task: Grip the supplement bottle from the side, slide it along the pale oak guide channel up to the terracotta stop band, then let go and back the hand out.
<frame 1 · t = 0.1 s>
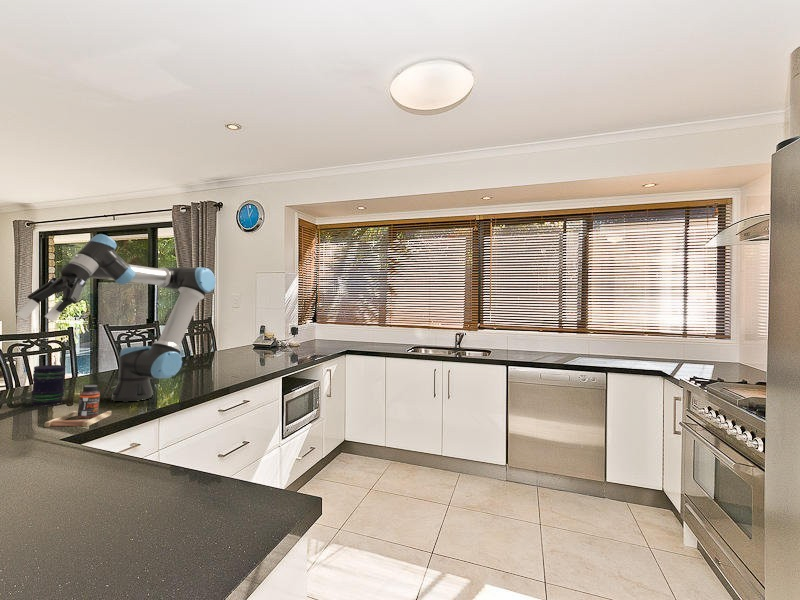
hand: (34, 318, 128), 36 cm above the countertop, tool tilted 35°, fingers open, 13 cm apart
supplement bottle: (87, 417, 145), on the countertop
guide channel: (79, 420, 140), on the countertop
storage jar: (46, 404, 161), on the countertop
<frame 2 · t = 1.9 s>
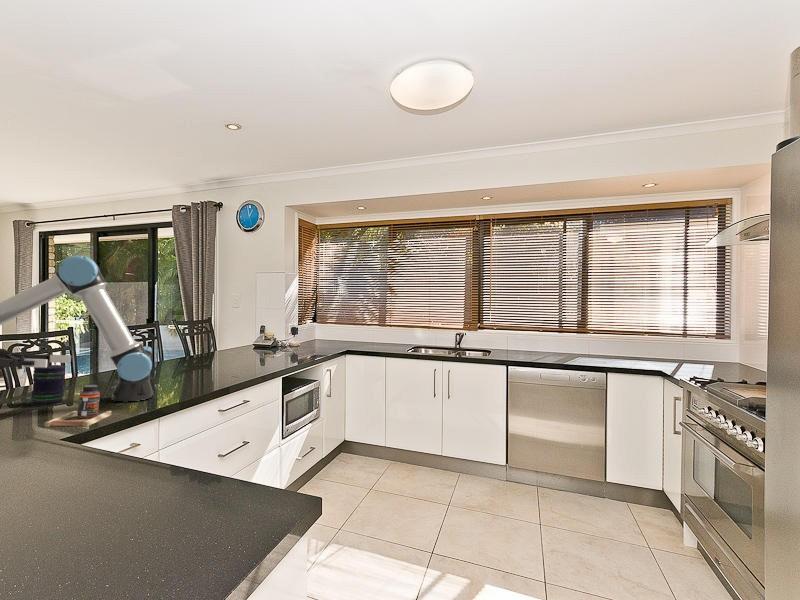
hand: (59, 361, 144), 20 cm above the countertop, tool horizontal, fingers open, 13 cm apart
nothing on the countertop moved.
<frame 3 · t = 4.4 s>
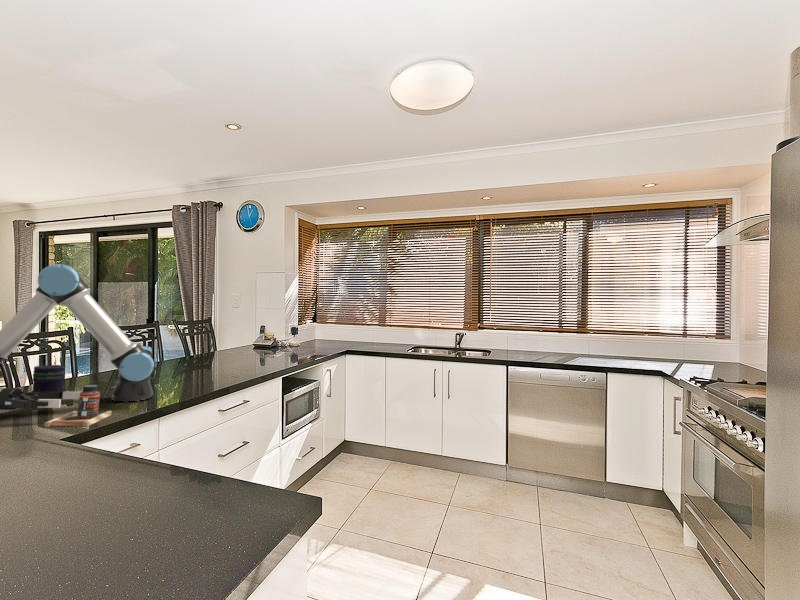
hand: (72, 399, 144), 6 cm above the countertop, tool horizontal, fingers open, 13 cm apart
nothing on the countertop moved.
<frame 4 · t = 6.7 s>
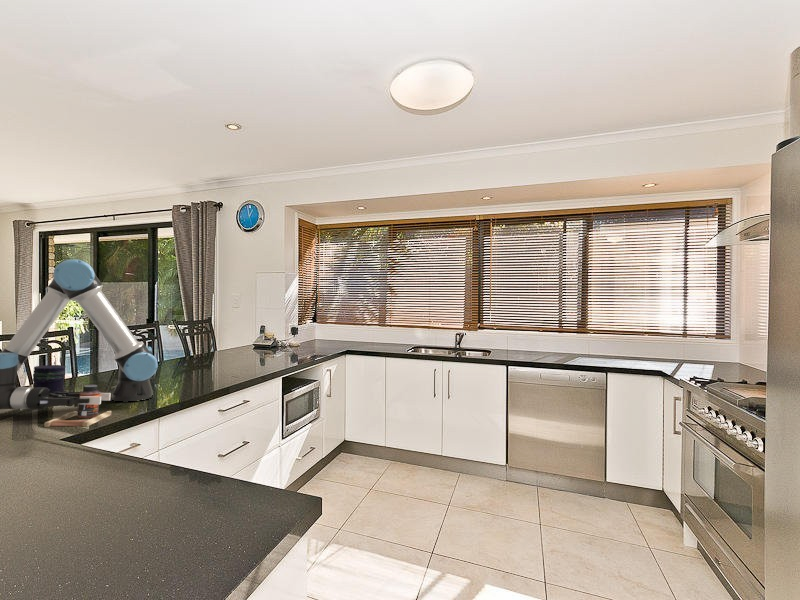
hand: (105, 398, 146), 7 cm above the countertop, tool horizontal, fingers closed on supplement bottle, 6 cm apart
supplement bottle: (87, 417, 145), on the countertop, touching gripper
everything else where it was.
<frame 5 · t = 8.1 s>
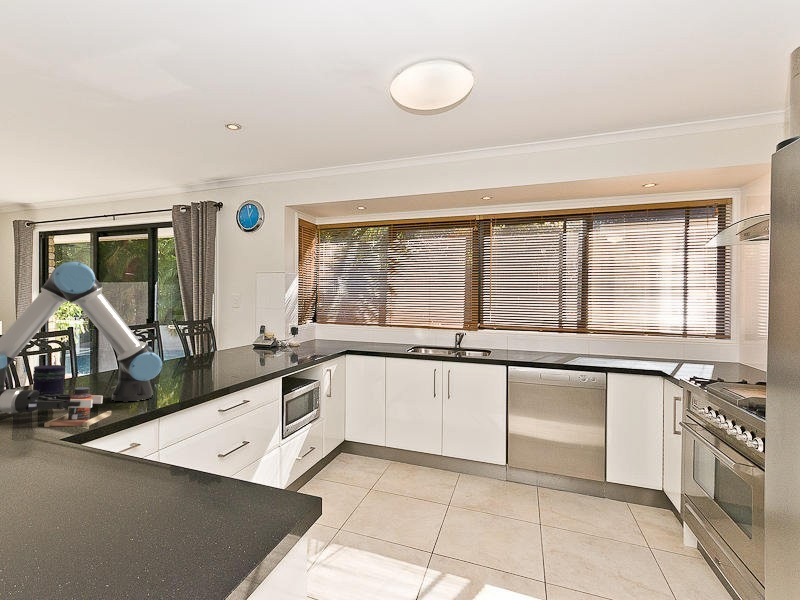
hand: (96, 401, 141), 7 cm above the countertop, tool horizontal, fingers closed on supplement bottle, 6 cm apart
supplement bottle: (78, 421, 140), on the countertop, touching gripper
everything else where it was.
when the fingers open (7 cm above the countertop, at t = 9.6 s): supplement bottle stays where it is, on the countertop.
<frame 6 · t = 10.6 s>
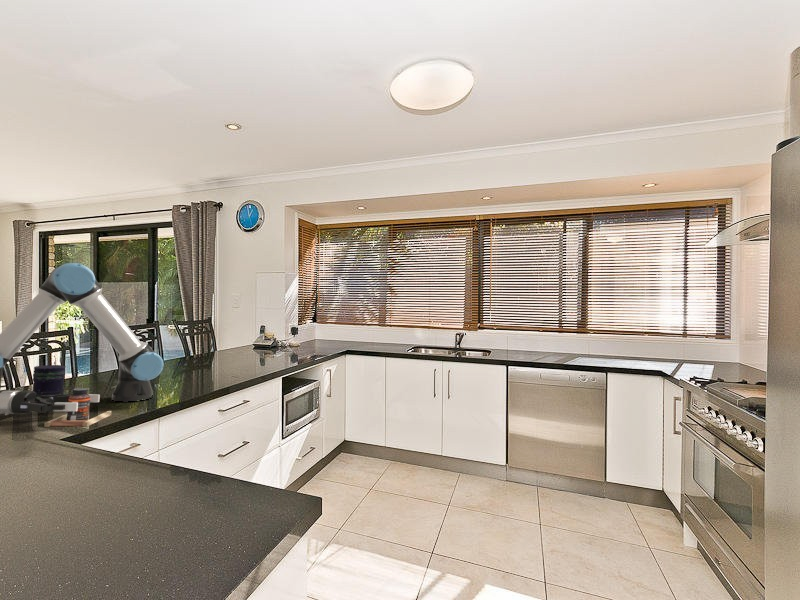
hand: (88, 402, 140), 7 cm above the countertop, tool horizontal, fingers open, 13 cm apart
supplement bottle: (77, 422, 139), on the countertop
everything else where it was.
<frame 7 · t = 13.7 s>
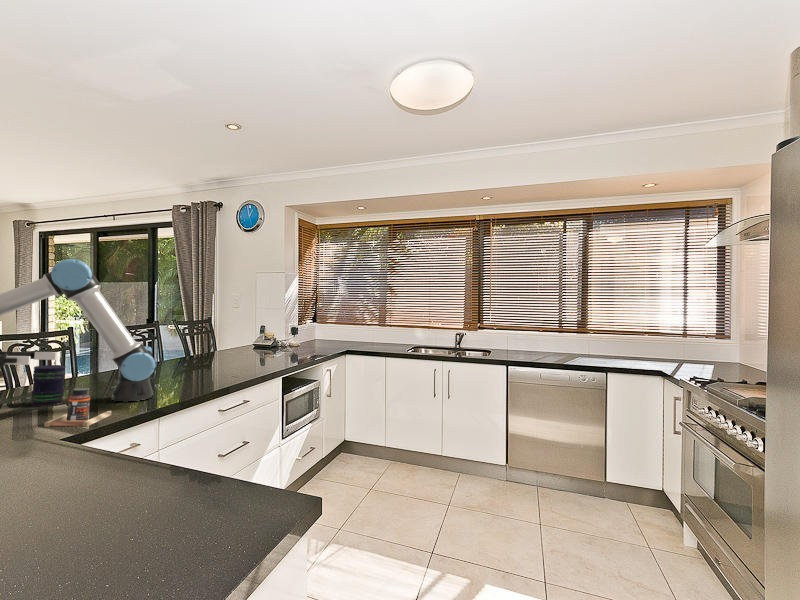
hand: (43, 358, 138), 22 cm above the countertop, tool horizontal, fingers open, 13 cm apart
nothing on the countertop moved.
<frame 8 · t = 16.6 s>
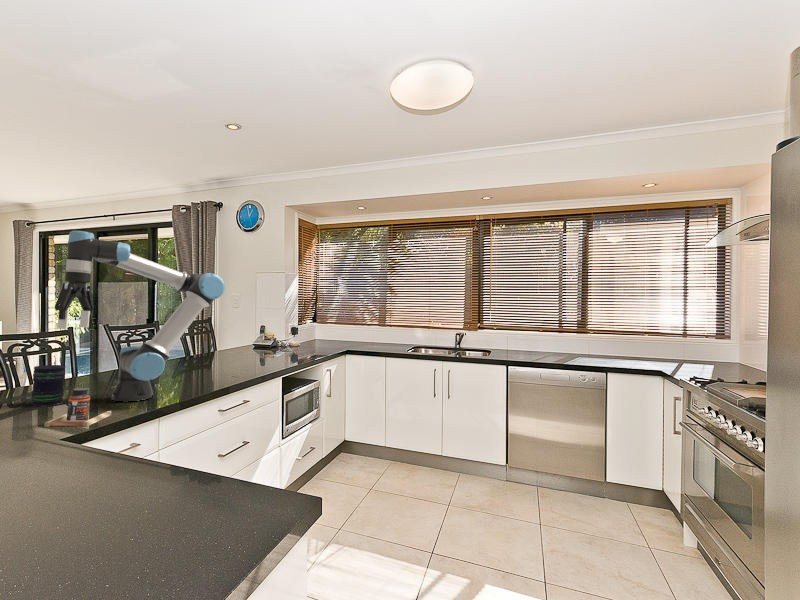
hand: (73, 328, 150), 32 cm above the countertop, tool pointing down, fingers open, 13 cm apart
nothing on the countertop moved.
at the end: supplement bottle 0.4 cm from the target spot on the guide channel, point 0.0 cm above the guide channel's base; supplement bottle tilted 0°; the gripper is holding nothing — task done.
